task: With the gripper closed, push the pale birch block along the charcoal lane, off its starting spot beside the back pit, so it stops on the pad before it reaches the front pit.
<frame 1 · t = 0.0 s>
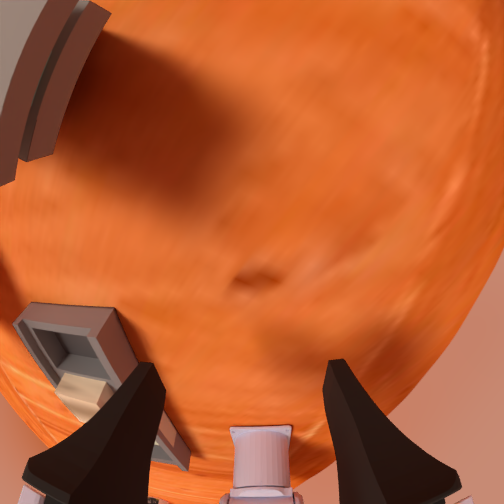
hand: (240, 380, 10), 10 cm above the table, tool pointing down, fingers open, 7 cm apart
gray angular rack: (28, 62, 12), on the table
medicine bottle: (157, 498, 69), on the table
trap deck: (121, 400, 29), on the table
birch block: (95, 393, 24), point 3 cm above the table, touching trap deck
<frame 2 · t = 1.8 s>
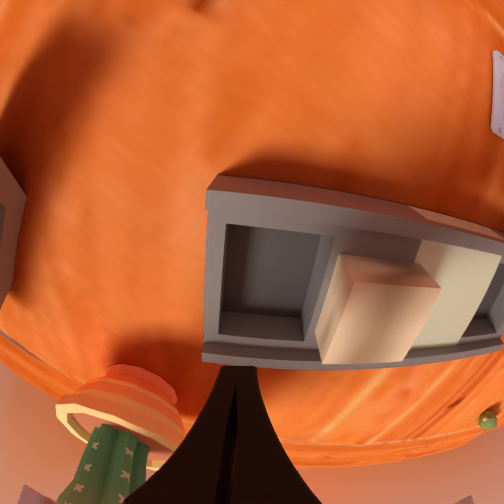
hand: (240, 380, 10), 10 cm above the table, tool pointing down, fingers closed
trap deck: (412, 280, 20), on the table
potted cactus: (140, 387, 27), on the table
edible corn: (485, 415, 39), on the table
birch block: (368, 299, 17), point 3 cm above the table, touching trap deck
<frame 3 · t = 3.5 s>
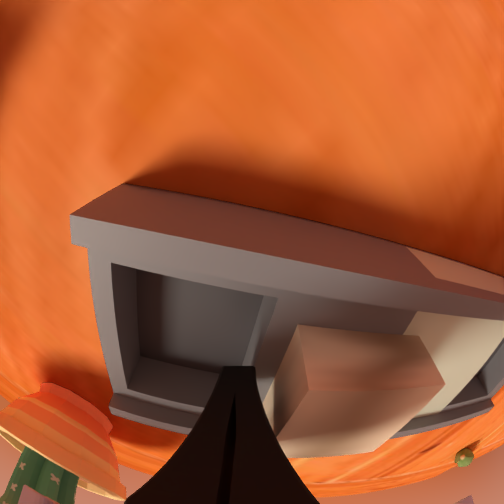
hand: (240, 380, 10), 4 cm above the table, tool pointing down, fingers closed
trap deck: (396, 341, 14), on the table
potted cactus: (75, 408, 20), on the table
edible corn: (461, 452, 36), on the table
birch block: (338, 377, 11), point 3 cm above the table, touching gripper, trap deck
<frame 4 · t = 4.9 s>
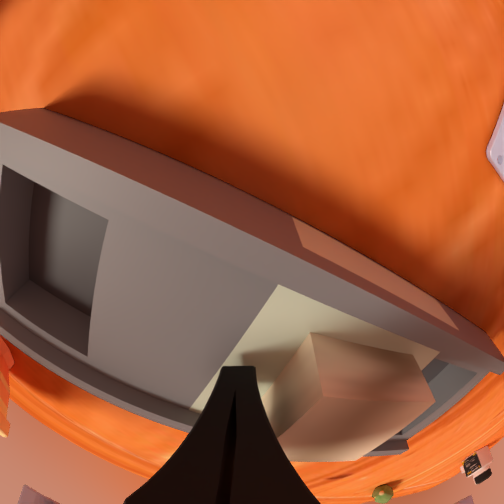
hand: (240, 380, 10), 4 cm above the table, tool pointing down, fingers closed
medicine bottle: (474, 452, 42), on the table
coaster: (470, 459, 49), on the table
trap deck: (281, 337, 14), on the table
edible corn: (380, 488, 40), on the table
birch block: (333, 386, 12), point 3 cm above the table, touching gripper, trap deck
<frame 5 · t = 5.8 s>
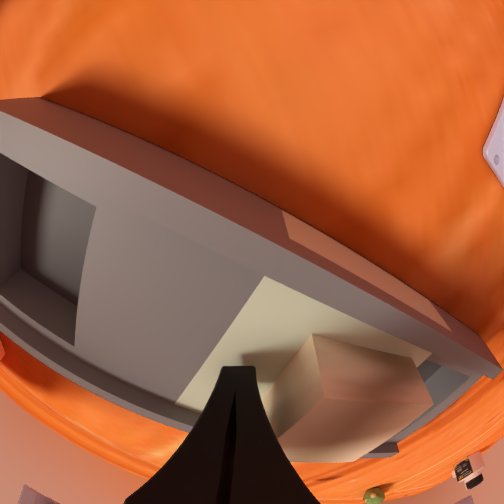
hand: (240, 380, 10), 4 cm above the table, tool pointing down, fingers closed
medicine bottle: (466, 458, 43), on the table
coaster: (462, 464, 50), on the table
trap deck: (269, 333, 14), on the table
edible corn: (371, 490, 41), on the table
birch block: (332, 388, 12), point 3 cm above the table, touching gripper, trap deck
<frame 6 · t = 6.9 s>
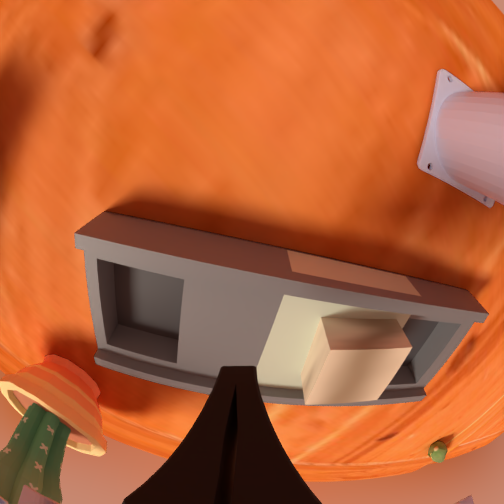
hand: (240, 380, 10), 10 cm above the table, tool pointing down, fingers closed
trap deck: (300, 322, 21), on the table
potted cactus: (71, 377, 27), on the table
edible corn: (435, 446, 43), on the table
birch block: (347, 349, 19), point 3 cm above the table, touching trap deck
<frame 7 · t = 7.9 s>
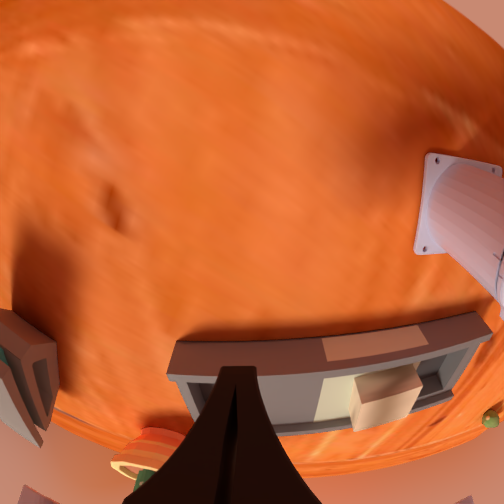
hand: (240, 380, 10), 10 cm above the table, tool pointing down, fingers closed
gray angular rack: (36, 350, 27), on the table
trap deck: (342, 373, 26), on the table
potted cactus: (167, 438, 35), on the table
edible corn: (488, 414, 41), on the table
birch block: (379, 388, 23), point 3 cm above the table, touching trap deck
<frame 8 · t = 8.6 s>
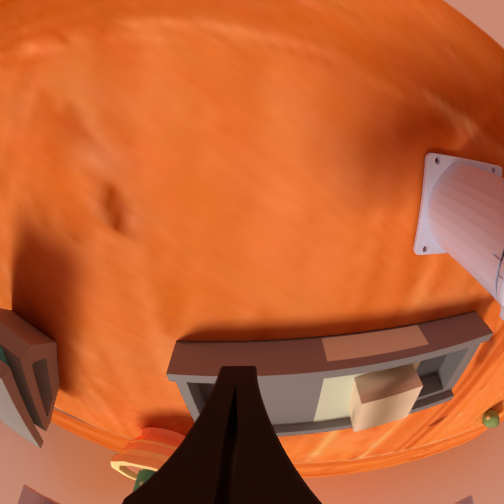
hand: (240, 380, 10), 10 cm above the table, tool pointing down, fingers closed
gray angular rack: (36, 350, 27), on the table
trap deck: (342, 373, 26), on the table
potted cactus: (167, 438, 35), on the table
edible corn: (488, 414, 41), on the table
birch block: (379, 388, 23), point 3 cm above the table, touching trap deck
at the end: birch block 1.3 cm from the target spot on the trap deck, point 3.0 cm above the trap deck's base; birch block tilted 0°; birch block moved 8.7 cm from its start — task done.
